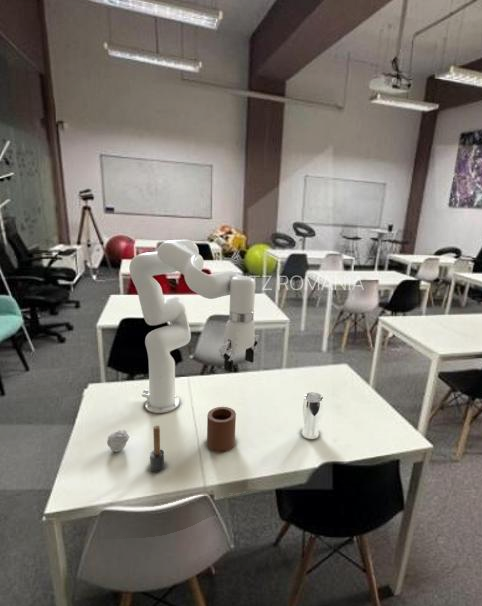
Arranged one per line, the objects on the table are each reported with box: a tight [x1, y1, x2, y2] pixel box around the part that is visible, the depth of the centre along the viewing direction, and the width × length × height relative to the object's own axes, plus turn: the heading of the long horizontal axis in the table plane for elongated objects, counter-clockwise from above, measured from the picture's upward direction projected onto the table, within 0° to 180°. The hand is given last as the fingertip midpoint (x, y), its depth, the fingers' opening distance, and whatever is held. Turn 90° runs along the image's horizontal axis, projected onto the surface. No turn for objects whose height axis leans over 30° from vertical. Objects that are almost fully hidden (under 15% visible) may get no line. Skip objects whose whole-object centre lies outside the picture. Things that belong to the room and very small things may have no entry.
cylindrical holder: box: [206, 406, 237, 453], centre depth 127 cm, size 9×9×11 cm
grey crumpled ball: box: [106, 429, 130, 453], centre depth 121 cm, size 6×7×7 cm
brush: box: [149, 425, 165, 473], centre depth 113 cm, size 4×4×14 cm
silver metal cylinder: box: [301, 392, 324, 440], centre depth 135 cm, size 7×7×15 cm
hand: (239, 365), depth 122 cm, fingers open, 9 cm apart
